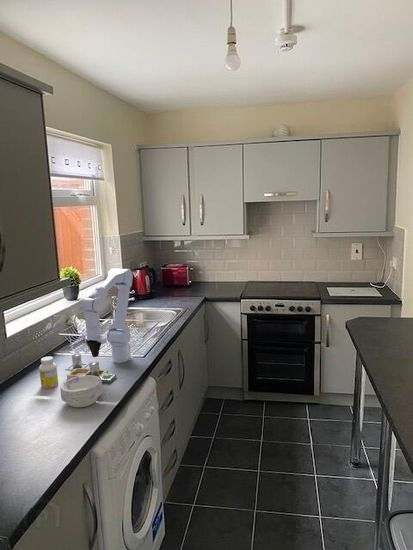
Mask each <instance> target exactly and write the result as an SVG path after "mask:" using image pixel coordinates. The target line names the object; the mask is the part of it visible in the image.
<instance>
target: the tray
mask: <svg viewBox="0 0 413 550" xmlns="http://www.w3.org/2000/svg"><path fill="white" fill-rule="evenodd" d="M89 363H90V362H89ZM89 363H88V362H82V368H84V369H86V367H88V366H89ZM83 365H84V366H83ZM71 367H72V368H71ZM73 370H75V369H74V368H73V363H72V364H70V365H69V366H68V367H66V368H65V371H73Z"/></svg>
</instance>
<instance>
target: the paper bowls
mask: <svg viewBox="0 0 413 550" xmlns="http://www.w3.org/2000/svg"><path fill="white" fill-rule="evenodd" d="M59 390H60V398H61V401H63V402H64V403H66V404H68V405H69V406H71V407H73V408H85V407H89V406H91V405H93V404H94V403H96V401H98V398H99V397H100V396H102V395H103V383H102V380H101V378H99V377H97V376H92V375H85V376H78V377H74V378H71V379H67V380H64V381H63V382H62V383H61V384H60V386H59Z"/></svg>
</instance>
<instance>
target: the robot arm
mask: <svg viewBox="0 0 413 550" xmlns="http://www.w3.org/2000/svg"><path fill="white" fill-rule="evenodd" d="M109 269H110V270H109V271H108V272H107V277H106V279H105V280H104V282H103V283H102V284H101V285H100V286H96V287H95V289H94V290H93V292H92V293H91V294H90V295H89V296H88V297H85V298H84V299H82V302H81V305H80V308H81V311H82V313H83V315H84V320H85V321H84V322H85V332H82V333H81V337H82V338H83V339H84V340H86V341H85V344H86V345H87V346H88V348H89V350H90V354H91V356H92V358H97V357H99V354H100V350H101V346H102V345H104V344H107V342H108V343H109V346H111V348H110V349H111V358H112V363H114V364H120V363H121V364H122V363H125V362H127V361H131V360H133V356H132V353H131V345H130V343H129V342H130V340H131V328H130V326H129V325H127V324H126V323H127V322H126V321H127V315H128V314H127V313H128V307H129V299H130V291H131V290H130V289H131V288H132V285H133V277H134V276H133V275H134V274H133V272H132V270H131V269H130V268H109ZM113 287H116V288H117V290H118V291H117V299H116V305H115V313H114V322H113V323H111V325H109V326H108V331H107V333H106V337H104V336H103V335H102V334H101V333H102V332H101V324H100V323H101V322H100V311H101V309H102V305H103V302H104V300H106V299H107V297H108V295H109V291H110V289H112V288H113Z"/></svg>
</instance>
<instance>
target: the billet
mask: <svg viewBox="0 0 413 550" xmlns="http://www.w3.org/2000/svg"><path fill="white" fill-rule="evenodd" d="M71 361H72V364H73V366H72V369H76V368H83V365H82V363H83V361H82V354H81V353H75V354H72V355H71Z"/></svg>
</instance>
